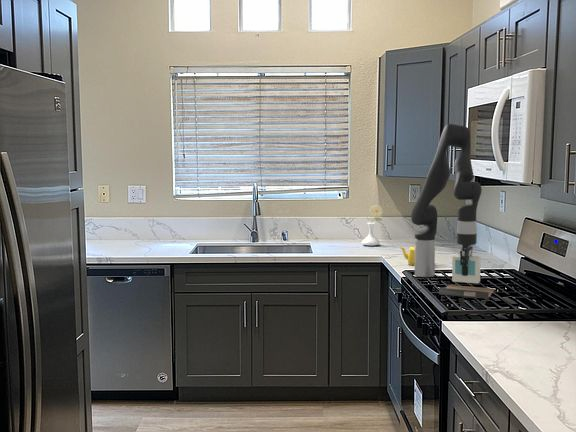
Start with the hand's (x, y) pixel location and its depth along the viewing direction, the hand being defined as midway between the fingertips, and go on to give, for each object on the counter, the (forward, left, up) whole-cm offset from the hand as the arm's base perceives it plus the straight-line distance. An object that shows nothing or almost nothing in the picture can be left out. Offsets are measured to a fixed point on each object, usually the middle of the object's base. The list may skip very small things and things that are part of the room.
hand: (466, 273), depth 248 cm
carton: (0, 0, -3) cm, 3 cm away
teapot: (-62, -36, -10) cm, 73 cm away
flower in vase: (-109, -77, -10) cm, 134 cm away
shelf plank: (-4, 0, -10) cm, 11 cm away
